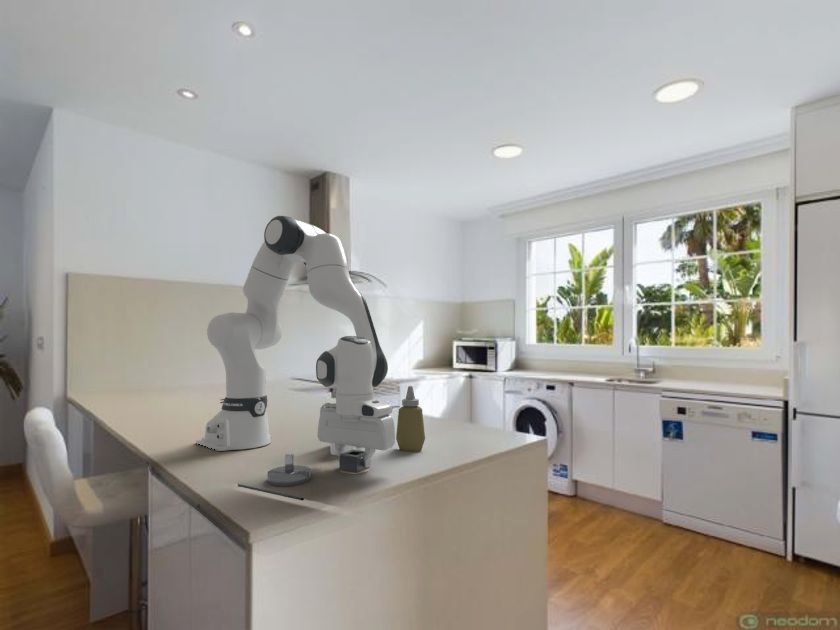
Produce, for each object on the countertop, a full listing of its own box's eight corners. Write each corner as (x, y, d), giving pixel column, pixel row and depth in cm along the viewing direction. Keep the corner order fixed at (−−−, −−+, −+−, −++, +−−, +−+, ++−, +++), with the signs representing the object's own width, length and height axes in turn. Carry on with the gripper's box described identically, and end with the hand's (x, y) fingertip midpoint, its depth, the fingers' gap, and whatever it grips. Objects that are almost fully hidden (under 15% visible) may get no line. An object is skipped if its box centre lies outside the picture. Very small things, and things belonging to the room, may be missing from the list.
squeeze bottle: (391, 453, 123) (390, 387, 123) (403, 447, 130) (403, 384, 131) (418, 456, 120) (418, 388, 120) (429, 449, 127) (429, 385, 128)
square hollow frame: (339, 470, 105) (339, 454, 105) (352, 464, 109) (352, 449, 109) (357, 473, 102) (357, 457, 102) (369, 467, 107) (369, 451, 107)
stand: (333, 475, 104) (333, 459, 104) (351, 467, 110) (351, 452, 110) (358, 479, 101) (358, 463, 101) (375, 471, 107) (375, 456, 107)
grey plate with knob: (237, 486, 97) (238, 456, 97) (279, 471, 107) (279, 444, 108) (301, 500, 88) (301, 467, 89) (339, 482, 99) (339, 453, 99)
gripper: (311, 403, 108) (311, 462, 108) (383, 410, 99) (383, 474, 98) (329, 400, 114) (328, 455, 113) (398, 406, 104) (398, 466, 104)
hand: (354, 464), depth 106 cm, fingers closed on square hollow frame, 5 cm apart
